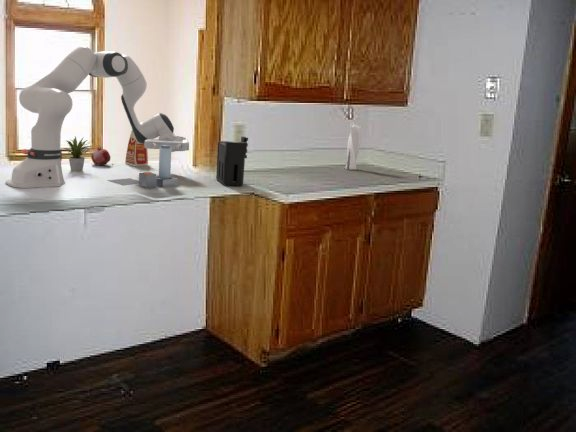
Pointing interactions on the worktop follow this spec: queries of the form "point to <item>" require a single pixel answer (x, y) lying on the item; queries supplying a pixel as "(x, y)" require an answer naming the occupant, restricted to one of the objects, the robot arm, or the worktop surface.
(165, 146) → the block
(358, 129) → the skyscraper
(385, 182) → the worktop surface
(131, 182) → the mat
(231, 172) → the black machined bracket
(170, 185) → the filter head
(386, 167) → the worktop surface
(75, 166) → the house plant
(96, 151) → the fruit
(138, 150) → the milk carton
